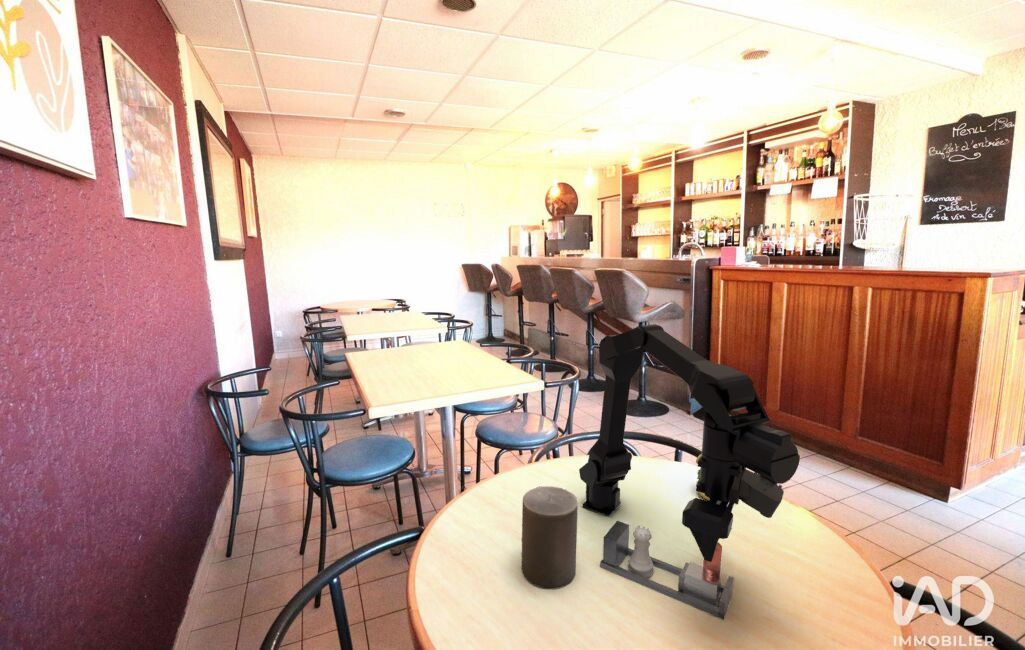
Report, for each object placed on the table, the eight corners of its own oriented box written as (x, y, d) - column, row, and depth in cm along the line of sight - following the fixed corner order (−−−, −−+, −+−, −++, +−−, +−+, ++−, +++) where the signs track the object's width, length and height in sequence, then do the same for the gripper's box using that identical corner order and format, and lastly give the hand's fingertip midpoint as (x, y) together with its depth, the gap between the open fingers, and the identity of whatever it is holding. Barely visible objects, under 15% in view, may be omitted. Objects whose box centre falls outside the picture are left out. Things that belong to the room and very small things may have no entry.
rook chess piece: (624, 562, 86) (625, 523, 84) (648, 561, 86) (650, 521, 84) (632, 580, 81) (634, 538, 80) (657, 578, 82) (659, 537, 80)
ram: (677, 593, 78) (681, 541, 76) (684, 579, 81) (688, 529, 79) (714, 609, 75) (719, 555, 73) (720, 593, 78) (724, 541, 76)
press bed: (600, 567, 85) (600, 537, 83) (614, 547, 90) (615, 519, 89) (723, 619, 73) (726, 585, 72) (732, 593, 78) (735, 561, 77)
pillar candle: (539, 597, 78) (540, 514, 75) (512, 561, 86) (512, 486, 83) (587, 578, 82) (590, 499, 79) (556, 545, 91) (558, 474, 88)
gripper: (773, 496, 60) (762, 603, 63) (788, 444, 75) (779, 532, 78) (683, 472, 66) (678, 570, 69) (714, 428, 81) (709, 510, 84)
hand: (715, 544), depth 75 cm, fingers open, 9 cm apart
